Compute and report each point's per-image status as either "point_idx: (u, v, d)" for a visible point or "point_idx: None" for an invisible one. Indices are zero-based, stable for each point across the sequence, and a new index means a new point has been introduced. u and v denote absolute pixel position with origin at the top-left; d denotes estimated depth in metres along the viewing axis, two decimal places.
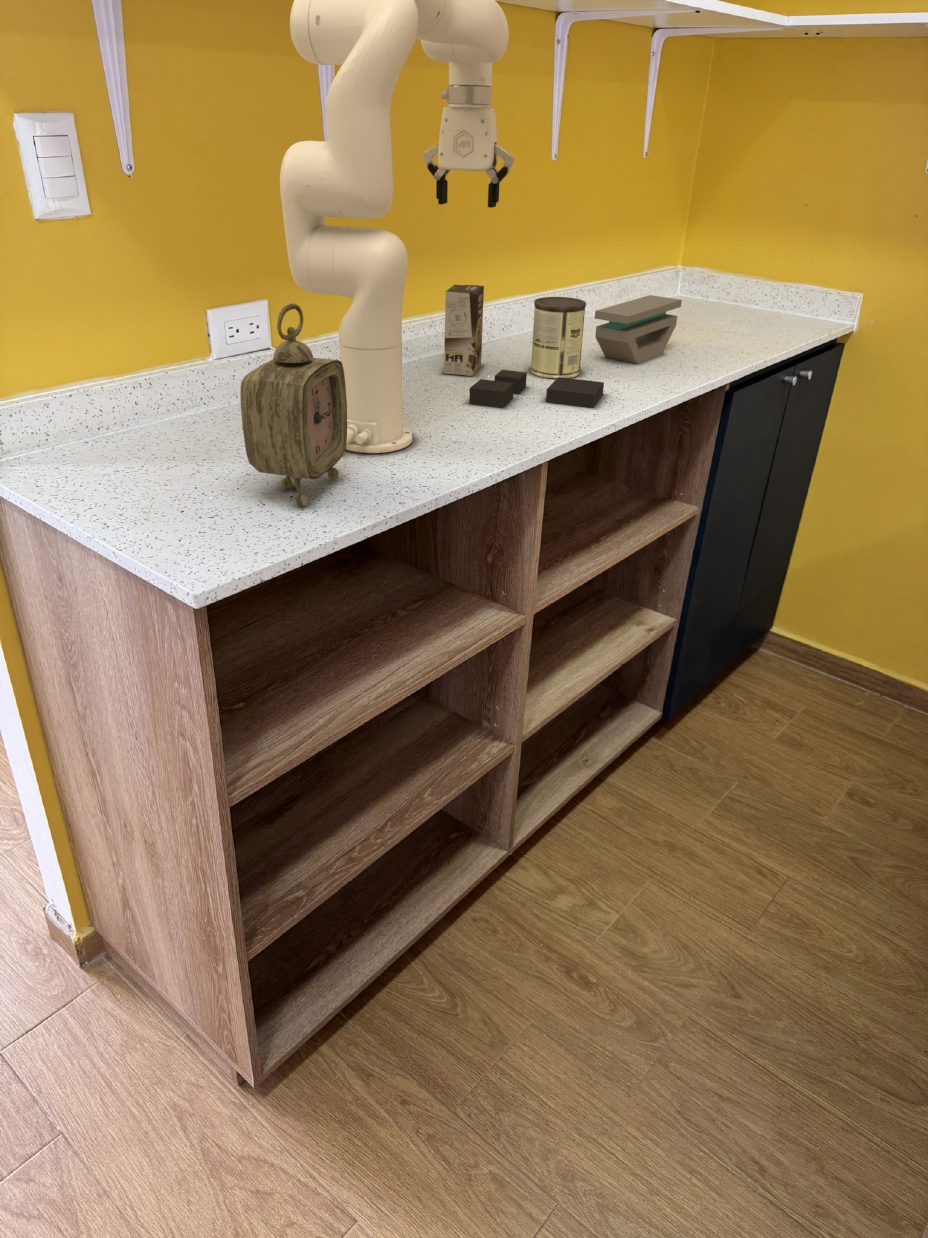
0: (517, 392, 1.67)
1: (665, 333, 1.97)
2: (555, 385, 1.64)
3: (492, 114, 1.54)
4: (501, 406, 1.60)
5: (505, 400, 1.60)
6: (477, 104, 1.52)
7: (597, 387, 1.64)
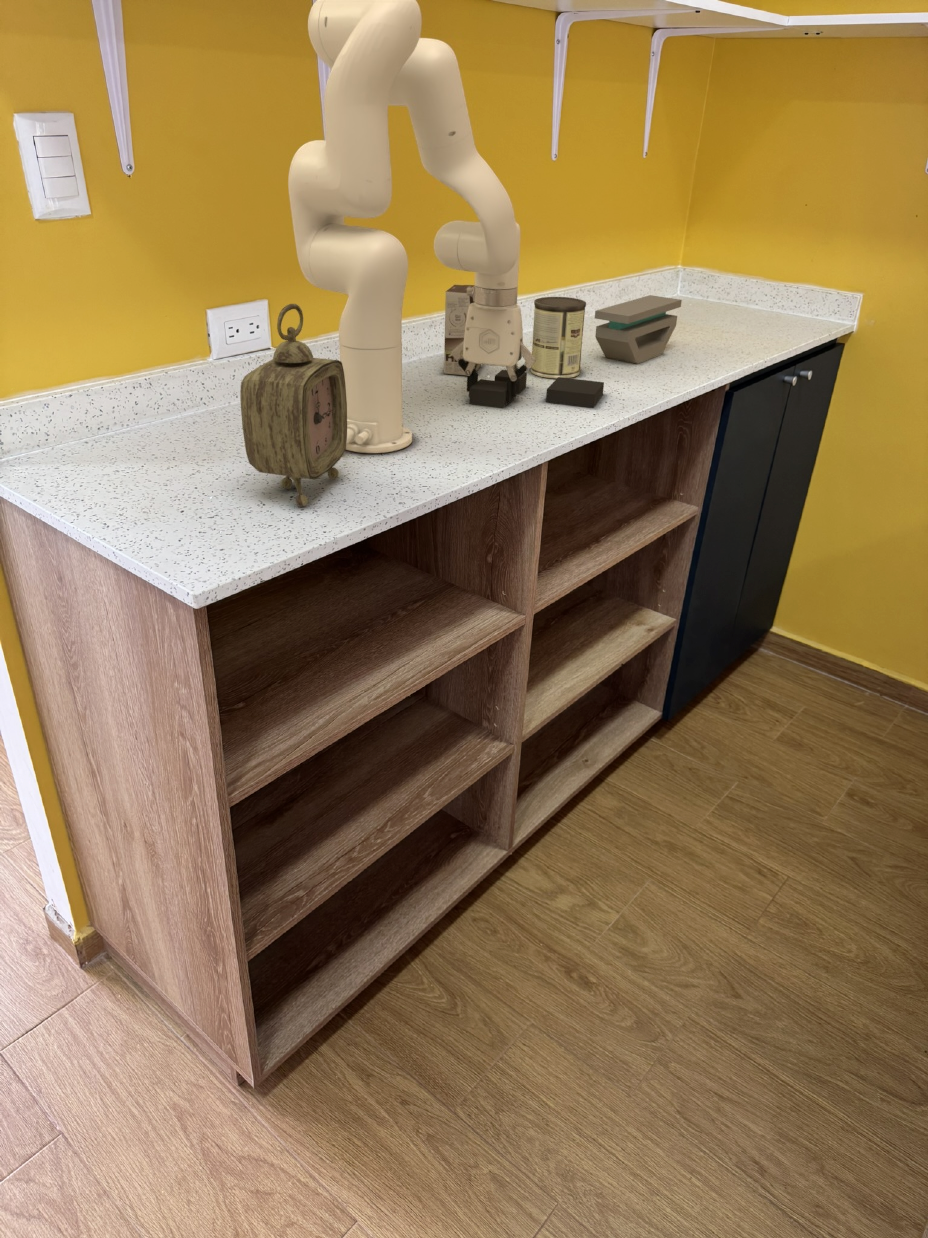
0: (517, 392, 1.67)
1: (665, 333, 1.97)
2: (555, 385, 1.64)
3: (518, 314, 1.53)
4: (501, 406, 1.60)
5: (505, 400, 1.60)
6: (503, 306, 1.51)
7: (597, 387, 1.64)
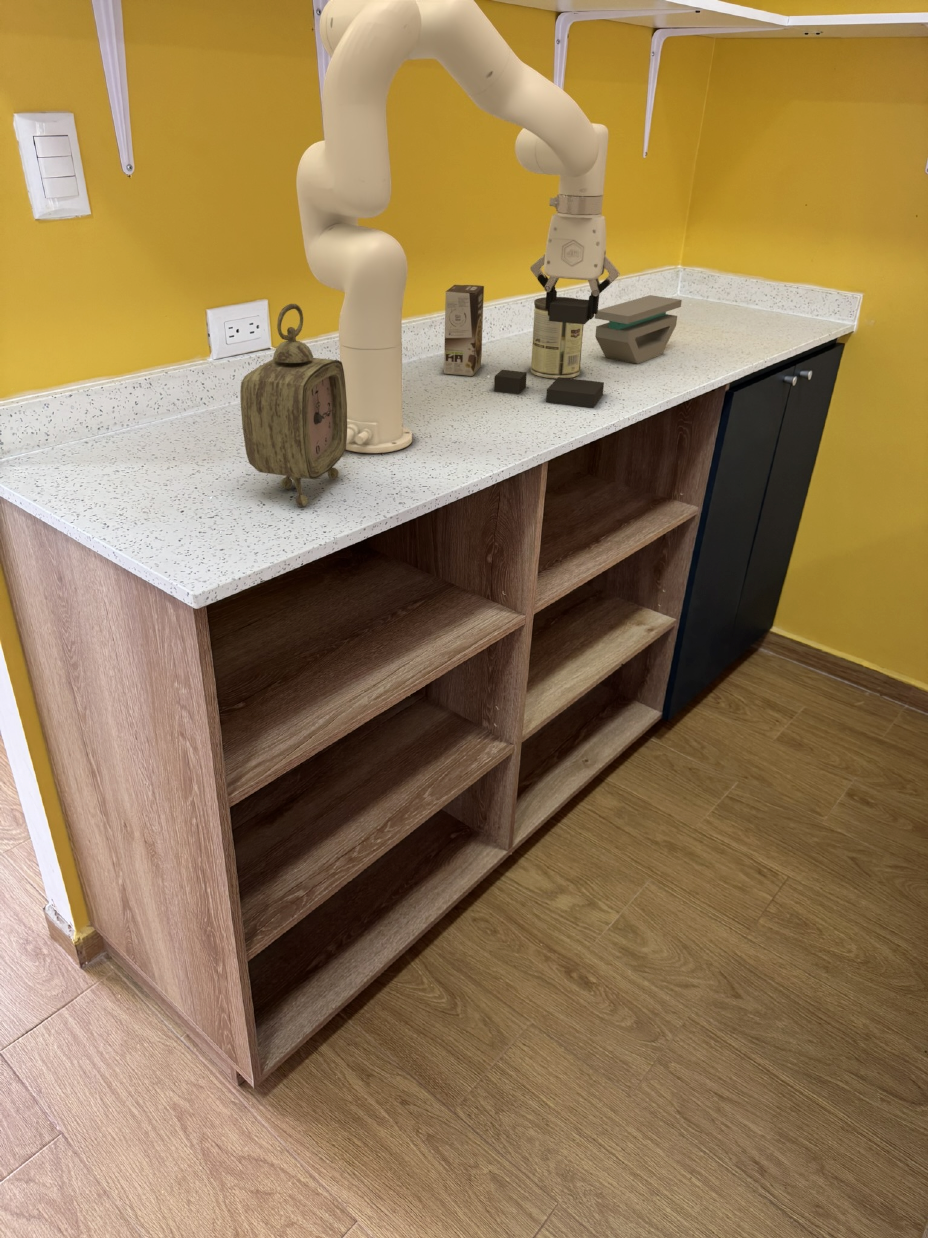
0: (517, 392, 1.67)
1: (665, 333, 1.97)
2: (555, 385, 1.64)
3: (604, 224, 1.48)
4: (583, 322, 1.55)
5: None
6: (589, 214, 1.47)
7: (597, 387, 1.64)
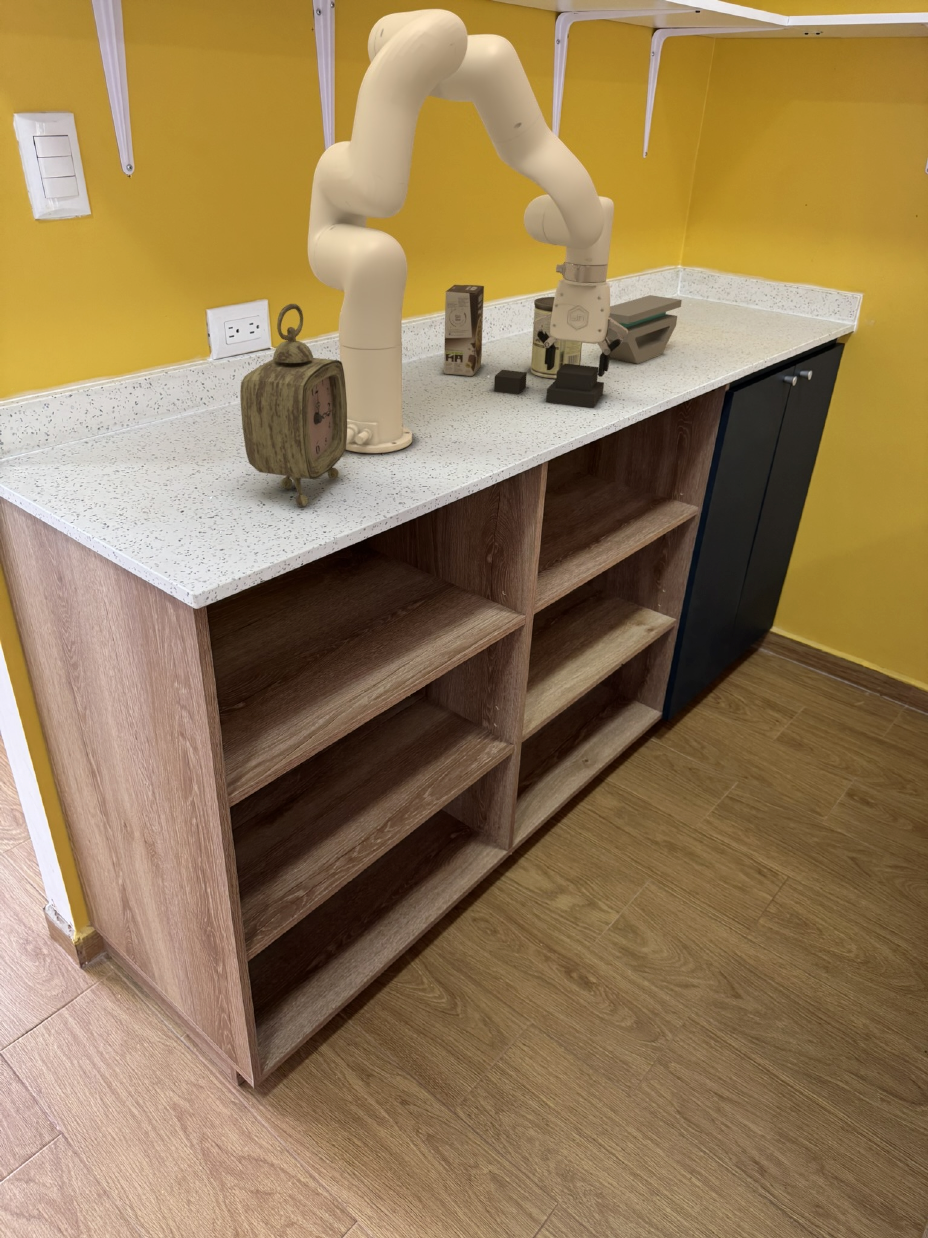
0: (517, 392, 1.67)
1: (665, 333, 1.97)
2: (555, 385, 1.64)
3: (608, 291, 1.54)
4: (588, 390, 1.61)
5: (592, 384, 1.62)
6: (594, 282, 1.52)
7: (597, 387, 1.64)
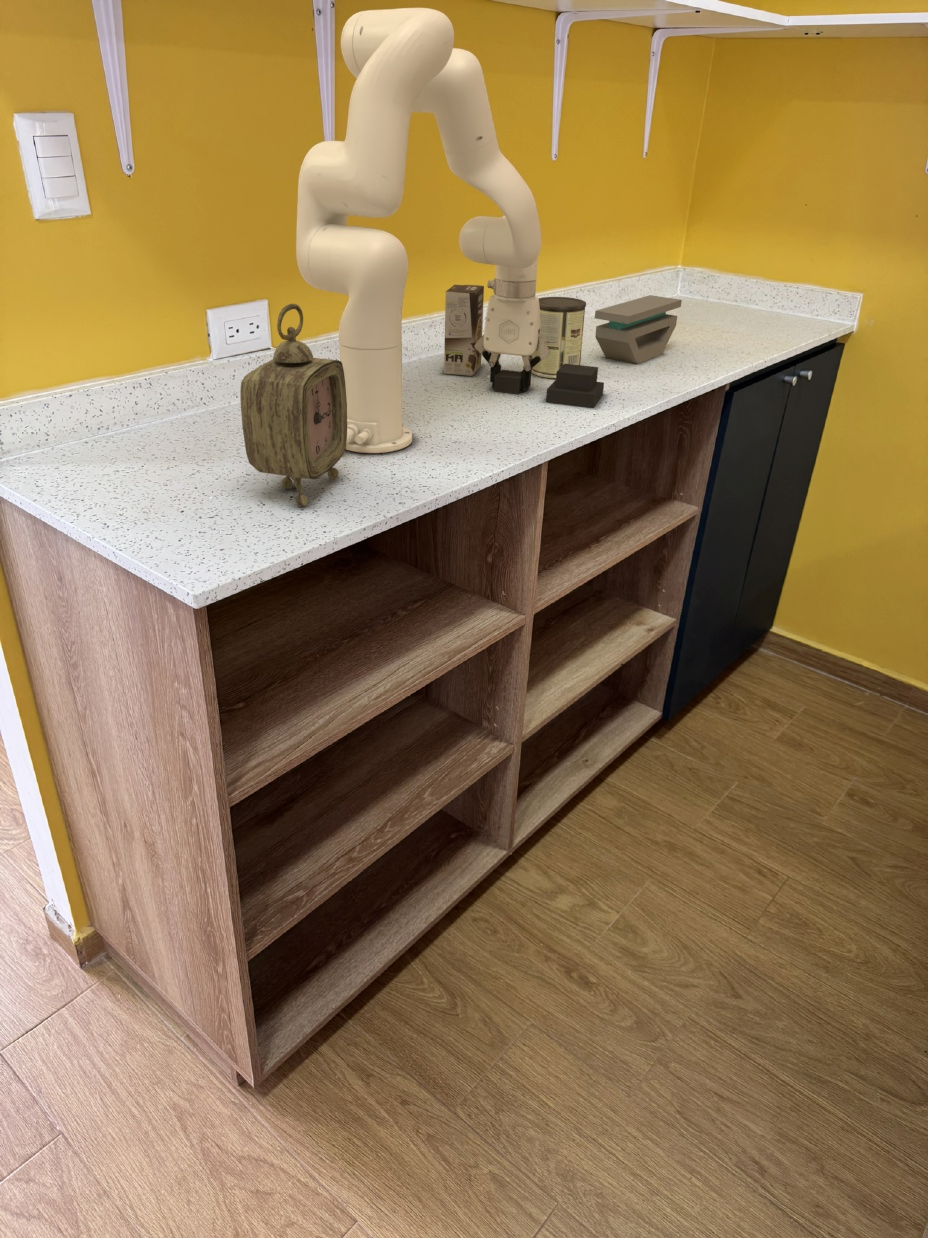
0: (517, 392, 1.67)
1: (665, 333, 1.97)
2: None
3: (537, 305, 1.60)
4: (588, 390, 1.61)
5: (592, 384, 1.62)
6: (522, 298, 1.59)
7: (597, 387, 1.64)
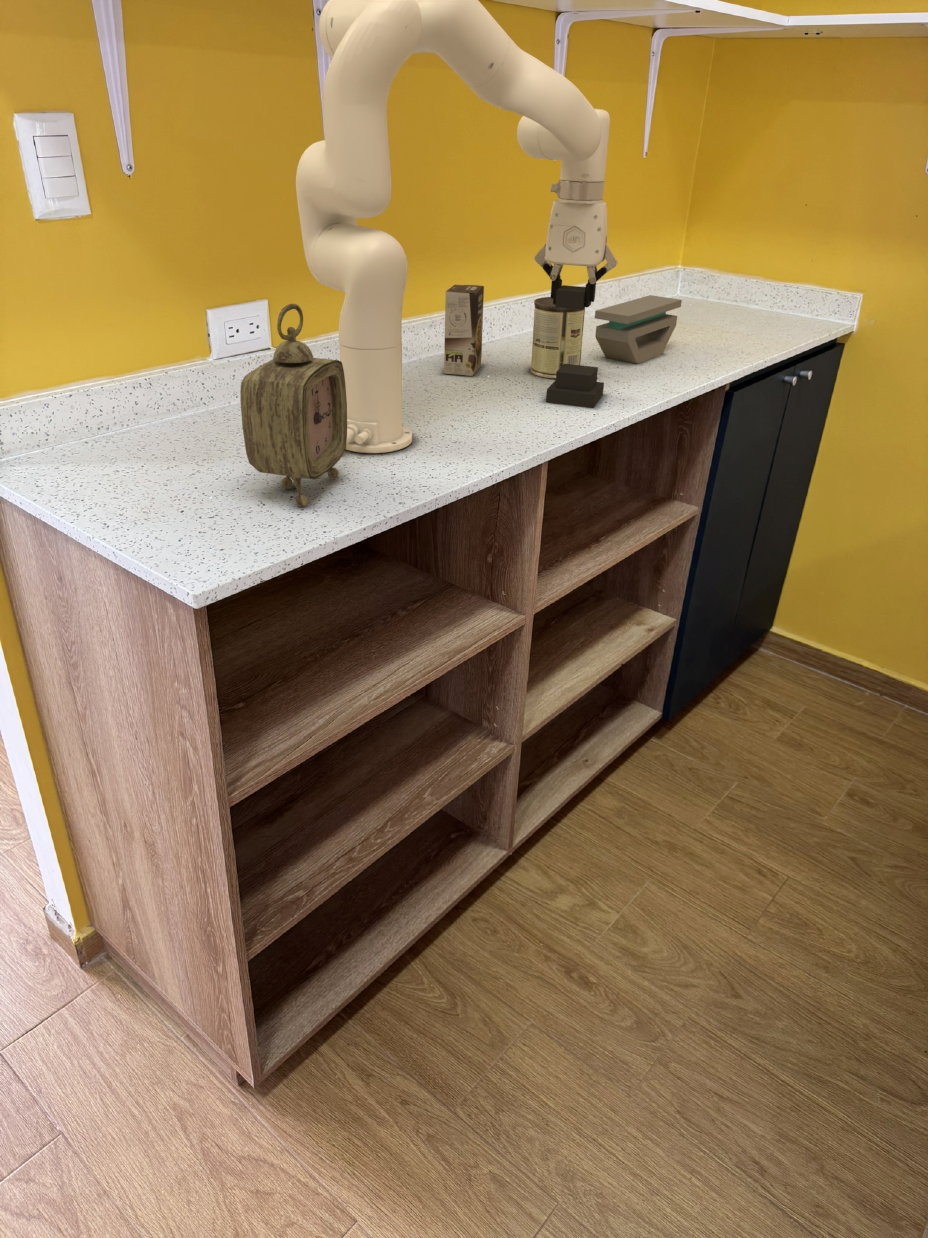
0: (581, 307, 1.56)
1: (665, 333, 1.97)
2: None
3: (605, 209, 1.48)
4: (587, 390, 1.61)
5: (591, 384, 1.62)
6: (590, 200, 1.47)
7: (597, 387, 1.64)
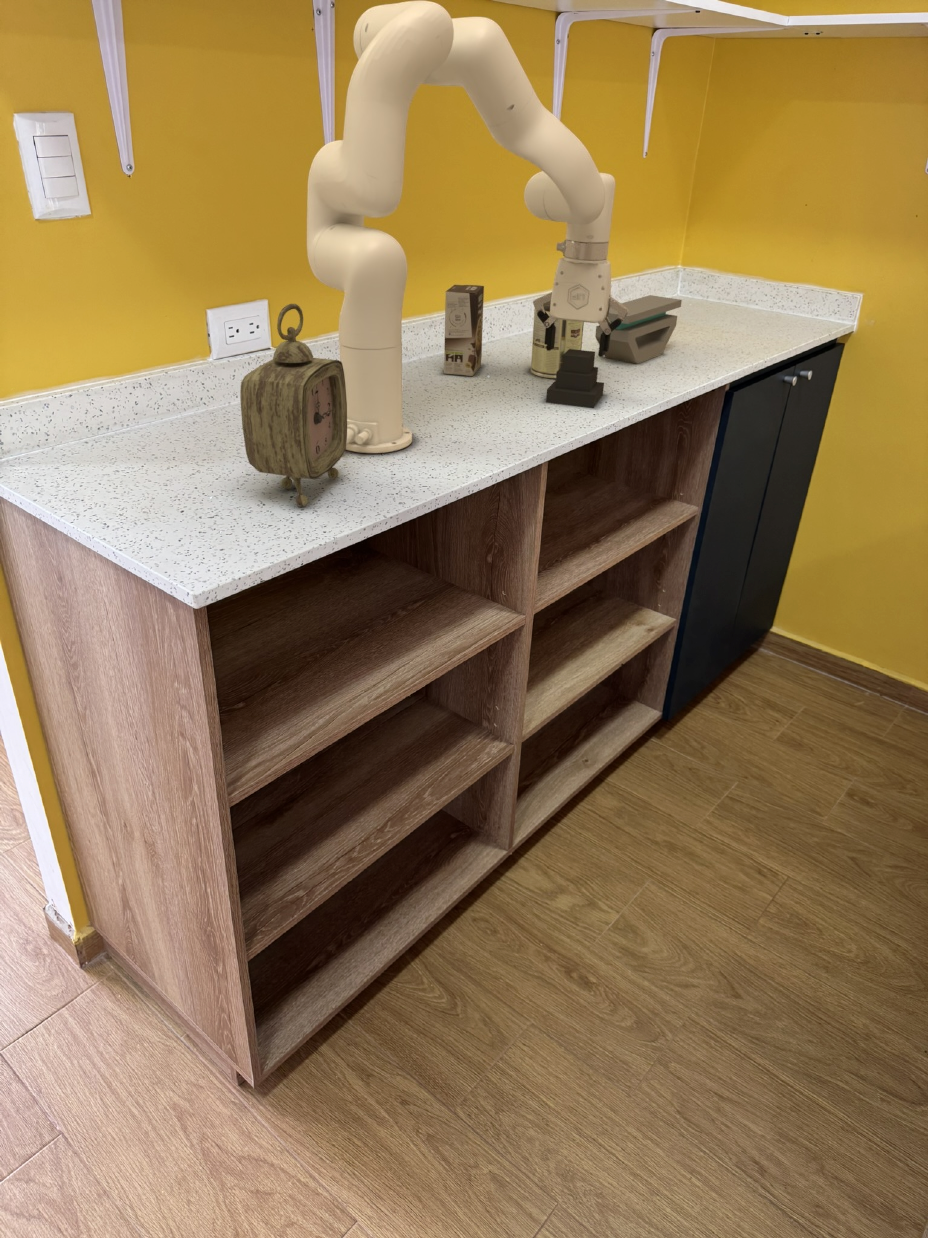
0: (586, 372, 1.61)
1: (665, 333, 1.97)
2: None
3: (609, 269, 1.52)
4: (588, 390, 1.61)
5: (591, 384, 1.62)
6: (595, 260, 1.50)
7: (597, 387, 1.64)
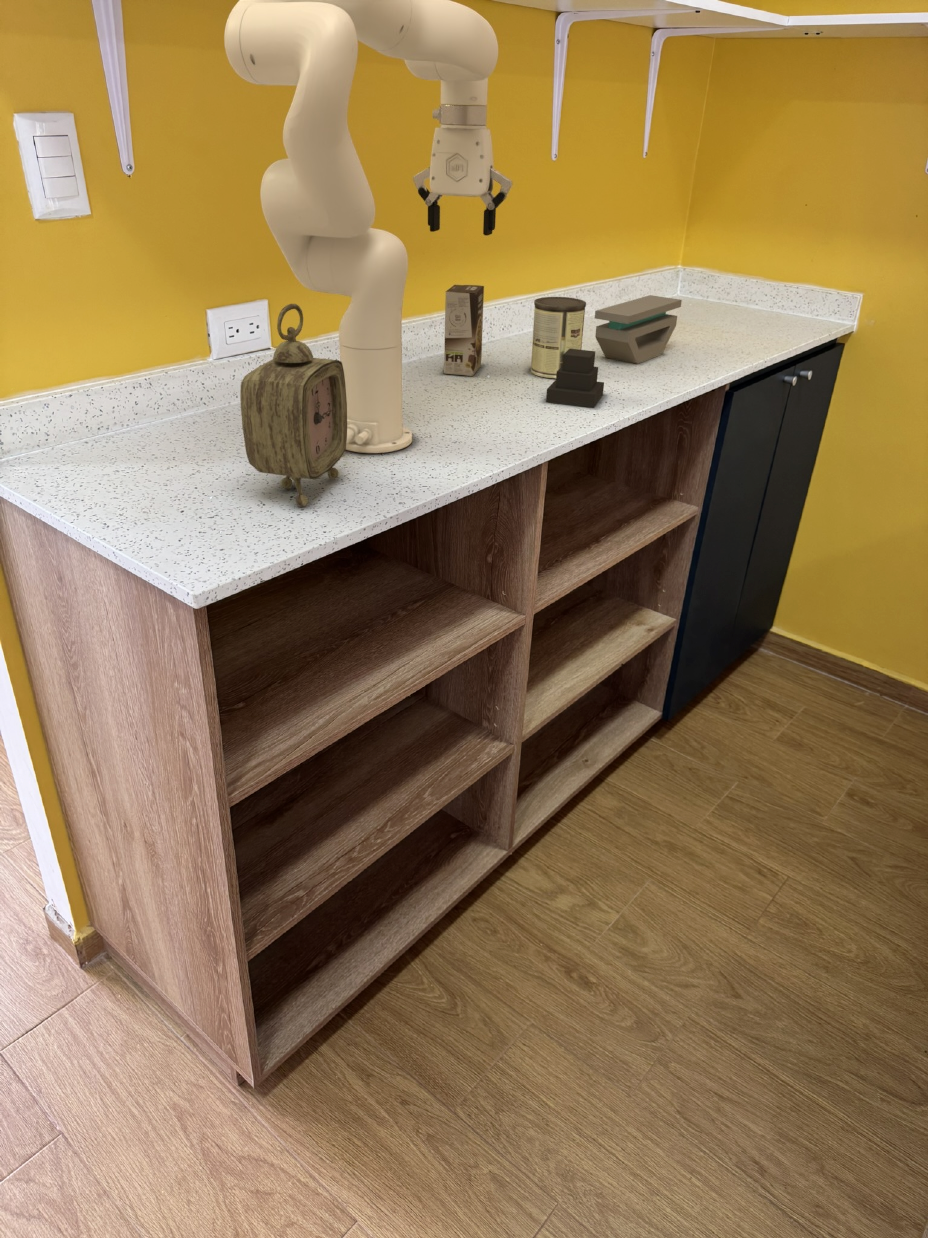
0: (587, 371, 1.61)
1: (665, 333, 1.97)
2: (555, 385, 1.64)
3: (488, 136, 1.42)
4: (588, 390, 1.61)
5: (592, 384, 1.62)
6: (471, 125, 1.40)
7: (597, 387, 1.64)
